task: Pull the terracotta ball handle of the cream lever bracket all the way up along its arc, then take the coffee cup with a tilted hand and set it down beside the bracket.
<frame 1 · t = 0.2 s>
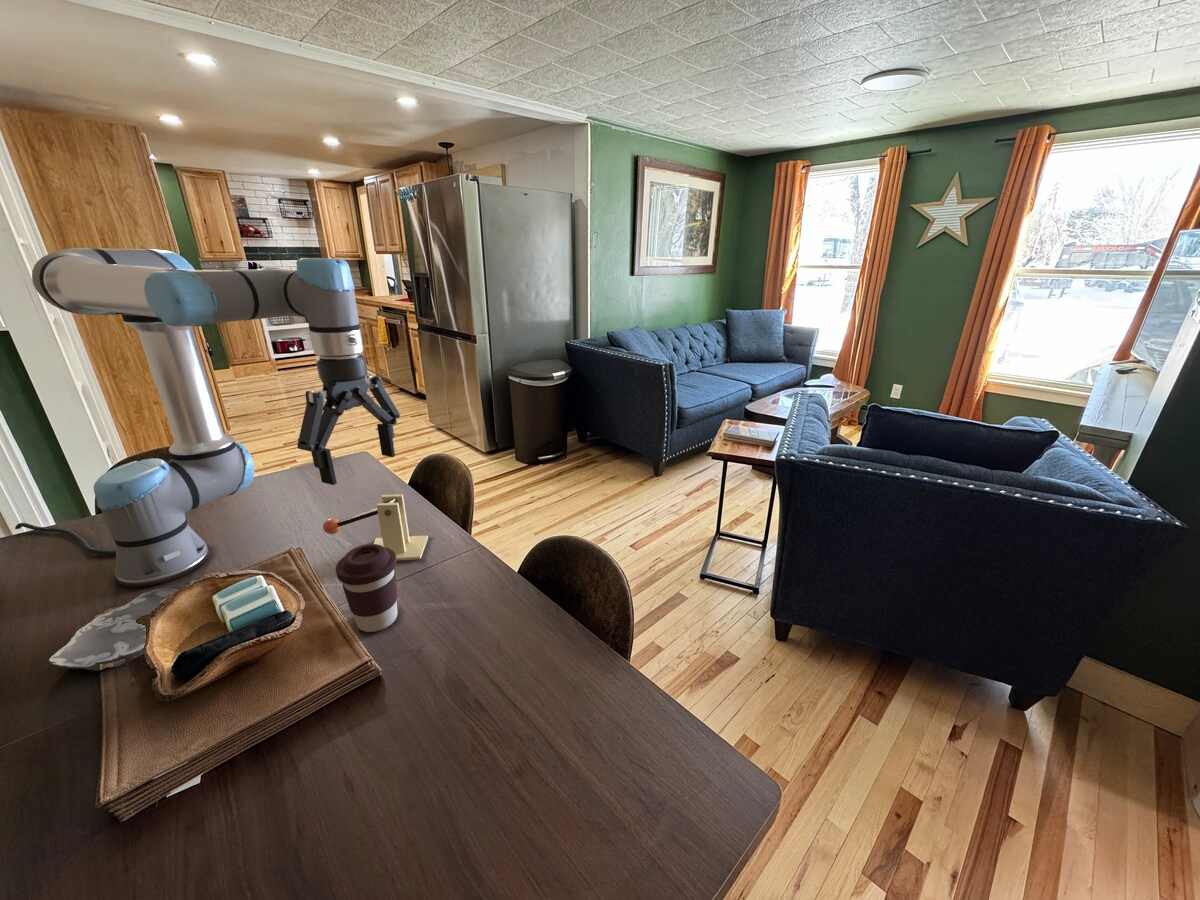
hand: (360, 468, 89), 28 cm above the table, tool pointing down, fingers open, 13 cm apart
coffee cup: (377, 620, 91), on the table
grey stone slab: (143, 636, 85), on the table
lever: (360, 516, 107), point 10 cm above the table, hinge at -18.0°
bracket: (398, 551, 111), on the table
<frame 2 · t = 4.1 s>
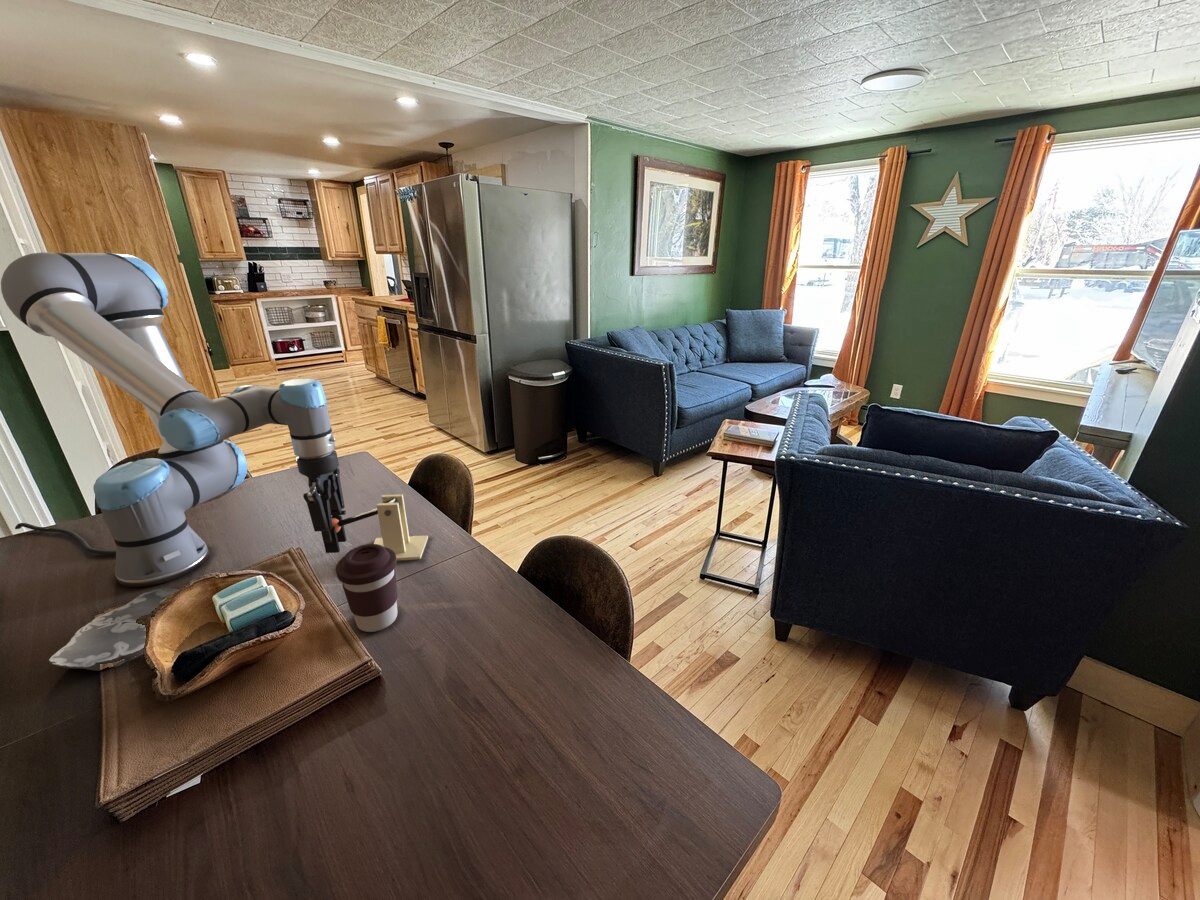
hand: (336, 546, 109), 2 cm above the table, tool pointing down, fingers closed on lever, 4 cm apart
lever: (360, 516, 107), point 10 cm above the table, hinge at -18.1°, touching gripper
everything else where it was.
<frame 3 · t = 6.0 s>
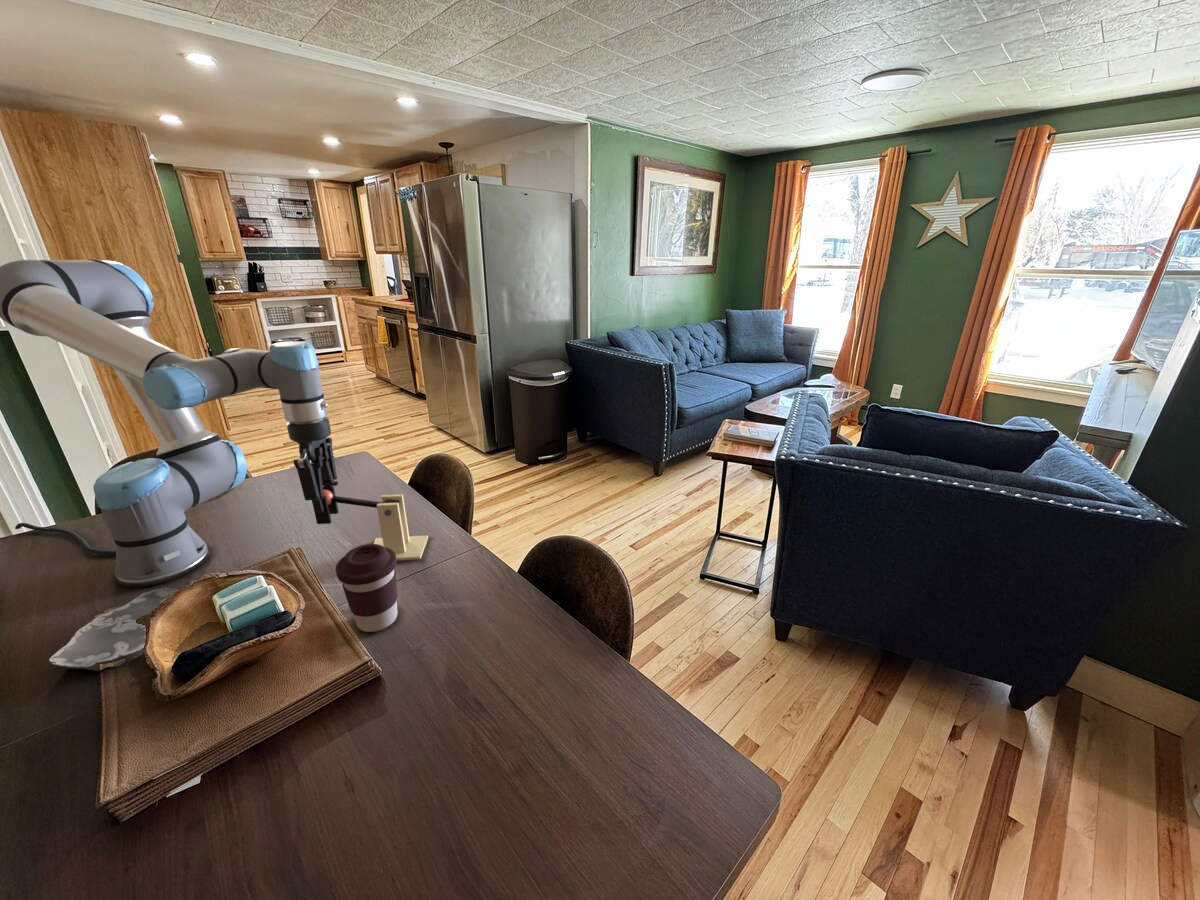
hand: (328, 517, 106), 10 cm above the table, tool pointing down, fingers closed on lever, 4 cm apart
lever: (357, 502, 105), point 14 cm above the table, hinge at 12.3°, touching gripper
everything else where it was.
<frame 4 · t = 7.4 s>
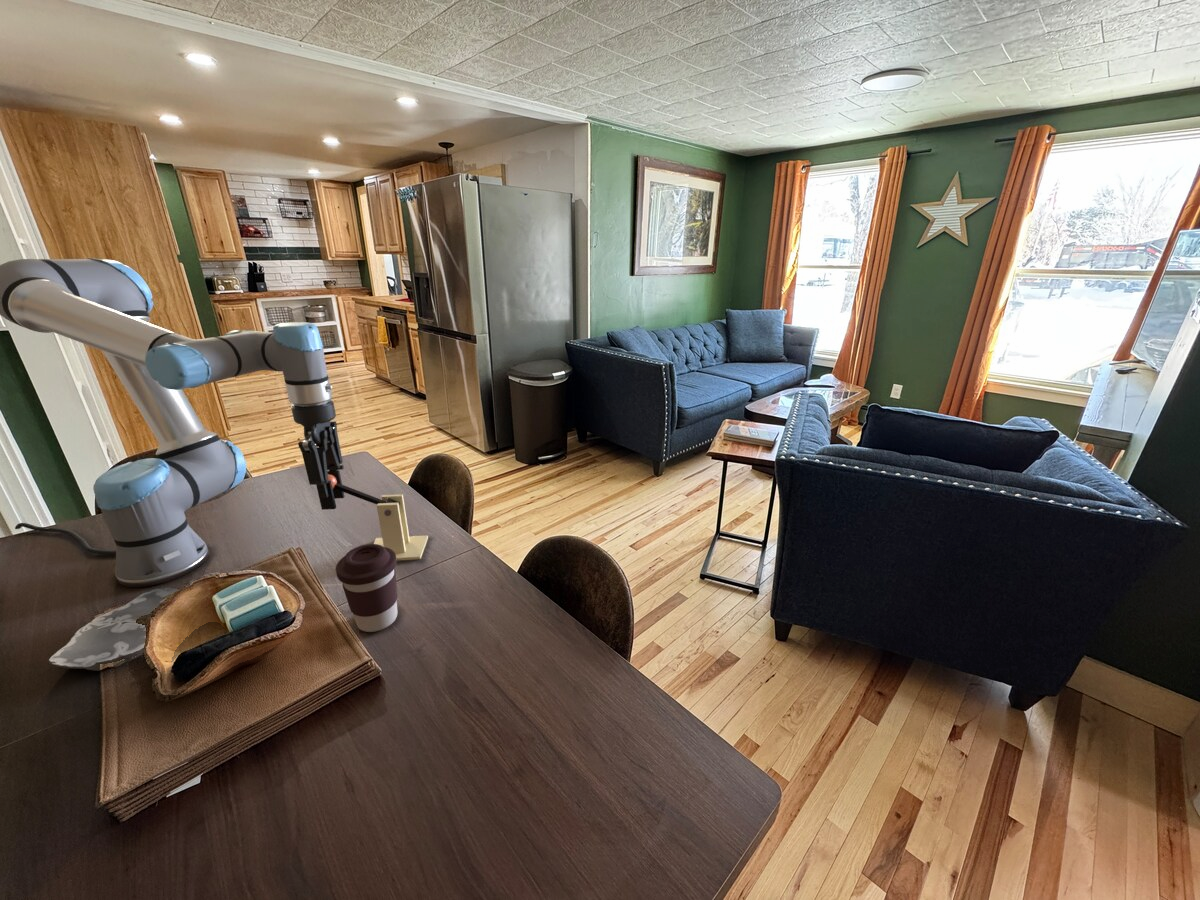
hand: (333, 502, 105), 14 cm above the table, tool pointing down, fingers open, 4 cm apart
lever: (359, 494, 105), point 15 cm above the table, hinge at 28.2°
everything else where it was.
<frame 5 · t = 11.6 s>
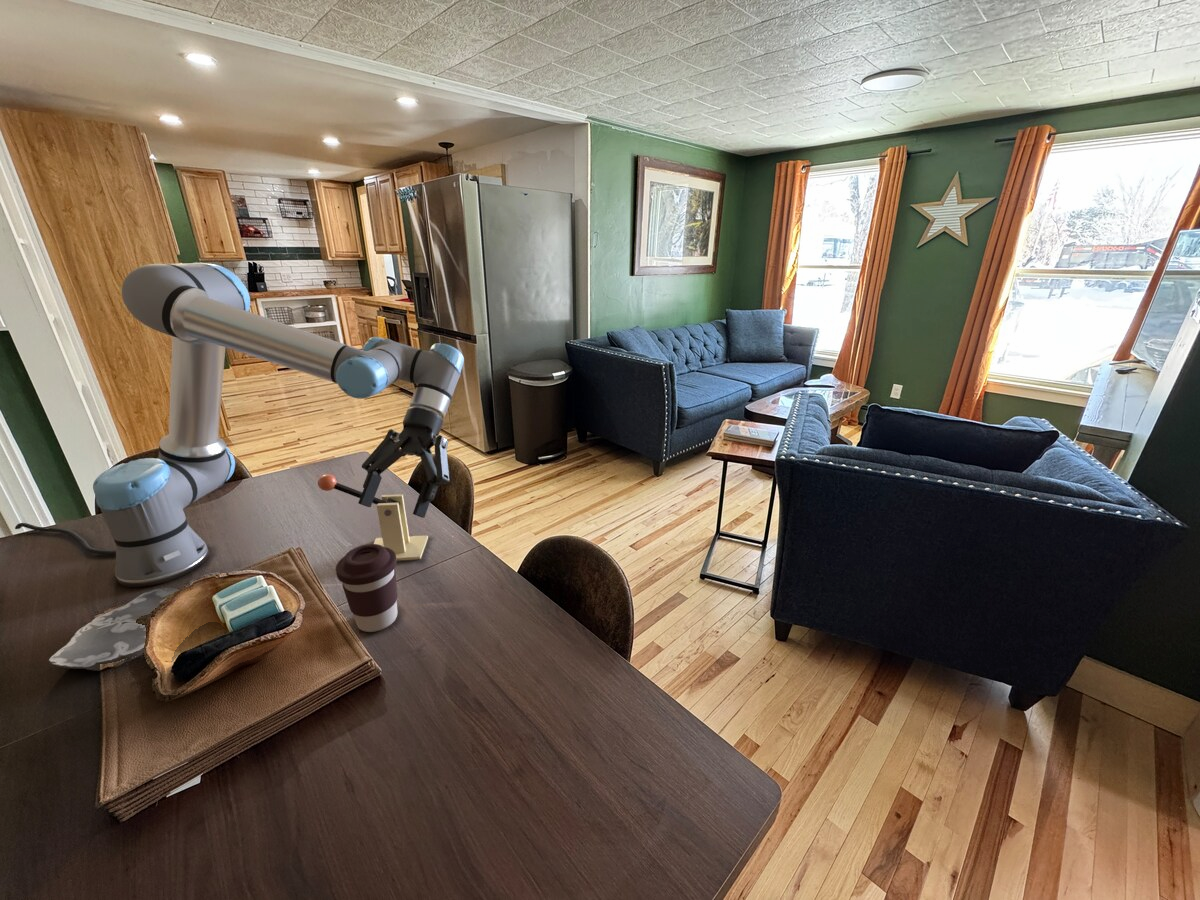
hand: (390, 510, 93), 18 cm above the table, tool tilted 40°, fingers open, 13 cm apart
nothing on the table moved.
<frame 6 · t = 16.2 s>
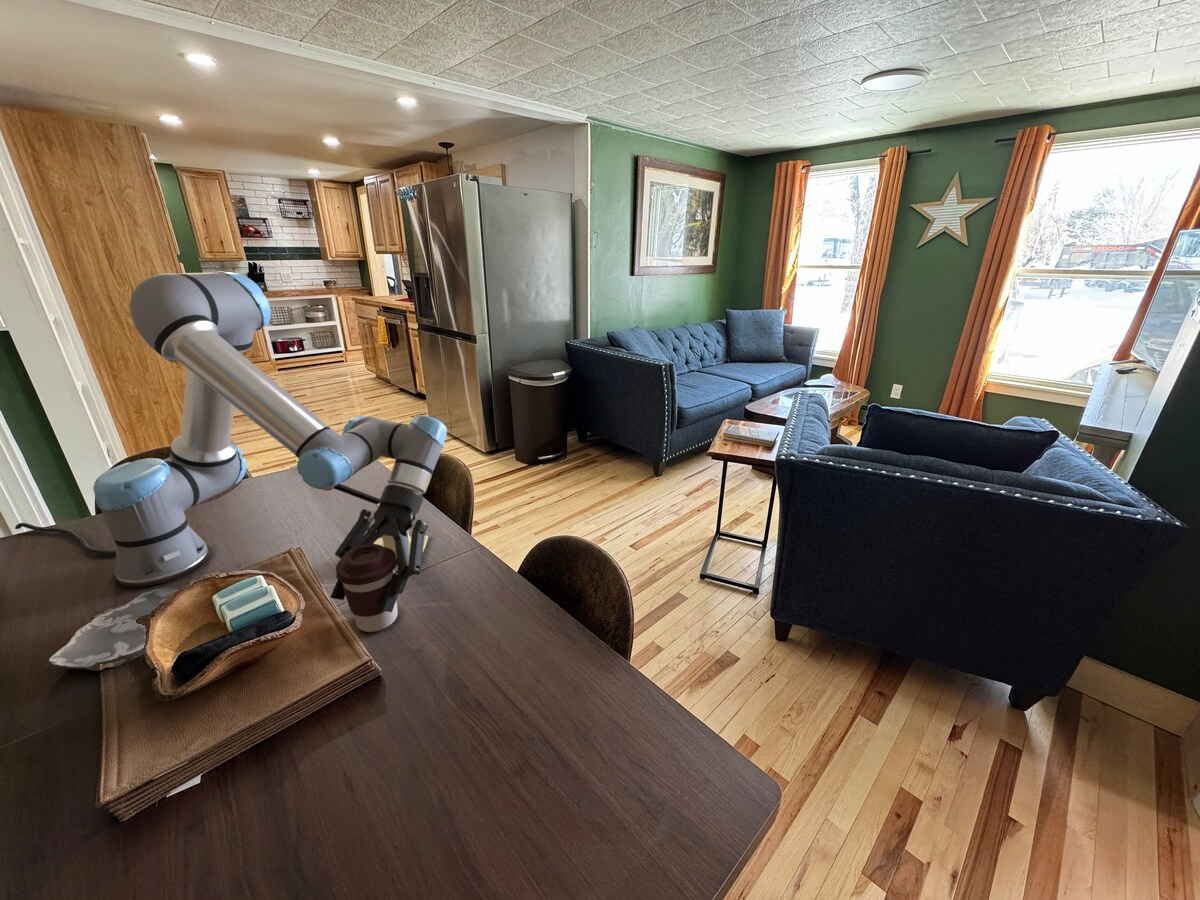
hand: (360, 604, 86), 6 cm above the table, tool tilted 45°, fingers closed on coffee cup, 10 cm apart
coffee cup: (377, 620, 91), on the table, touching gripper
everything else where it was.
when the fingers open (6 cm above the table, at t = 23.0 s): coffee cup stays where it is, on the table.
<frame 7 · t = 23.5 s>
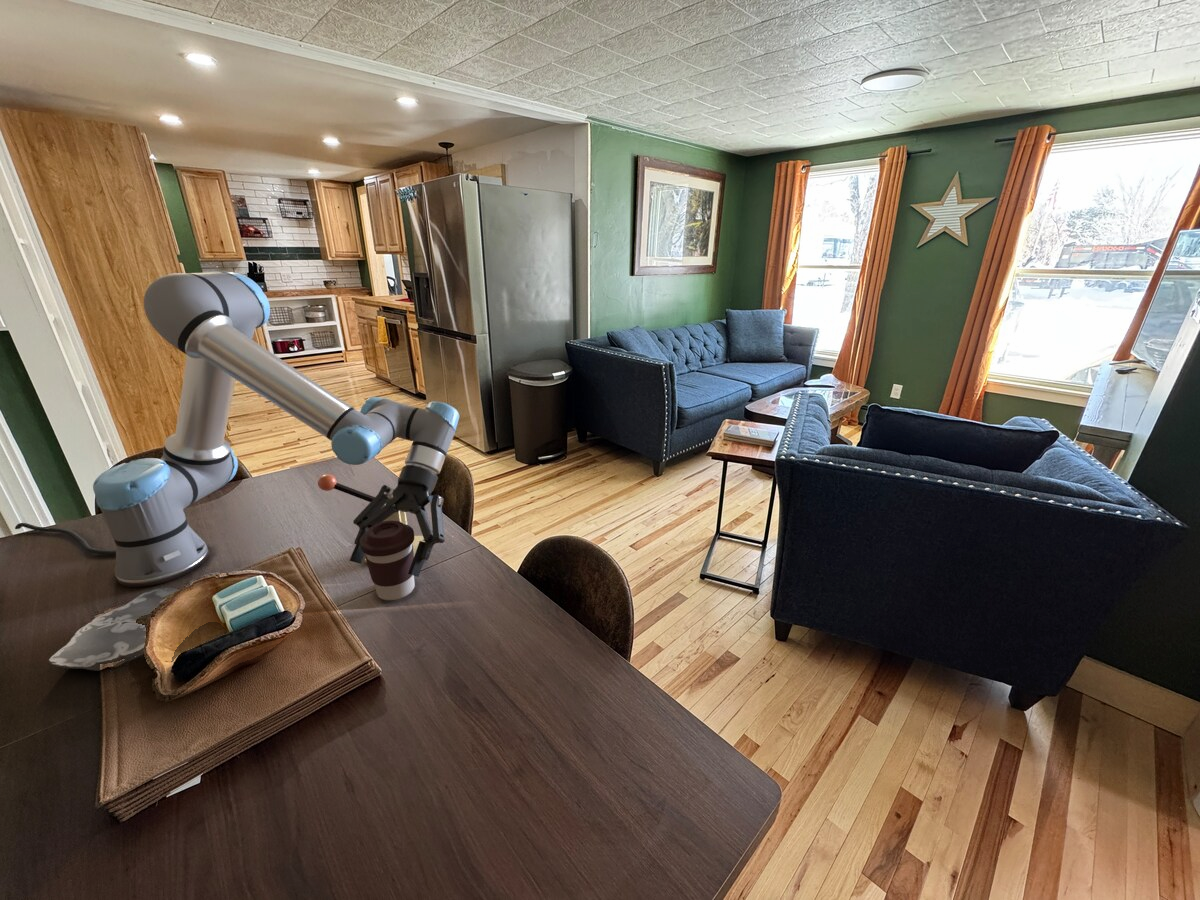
hand: (383, 568, 94), 7 cm above the table, tool tilted 45°, fingers open, 13 cm apart
coffee cup: (396, 591, 99), on the table
everything else where it was.
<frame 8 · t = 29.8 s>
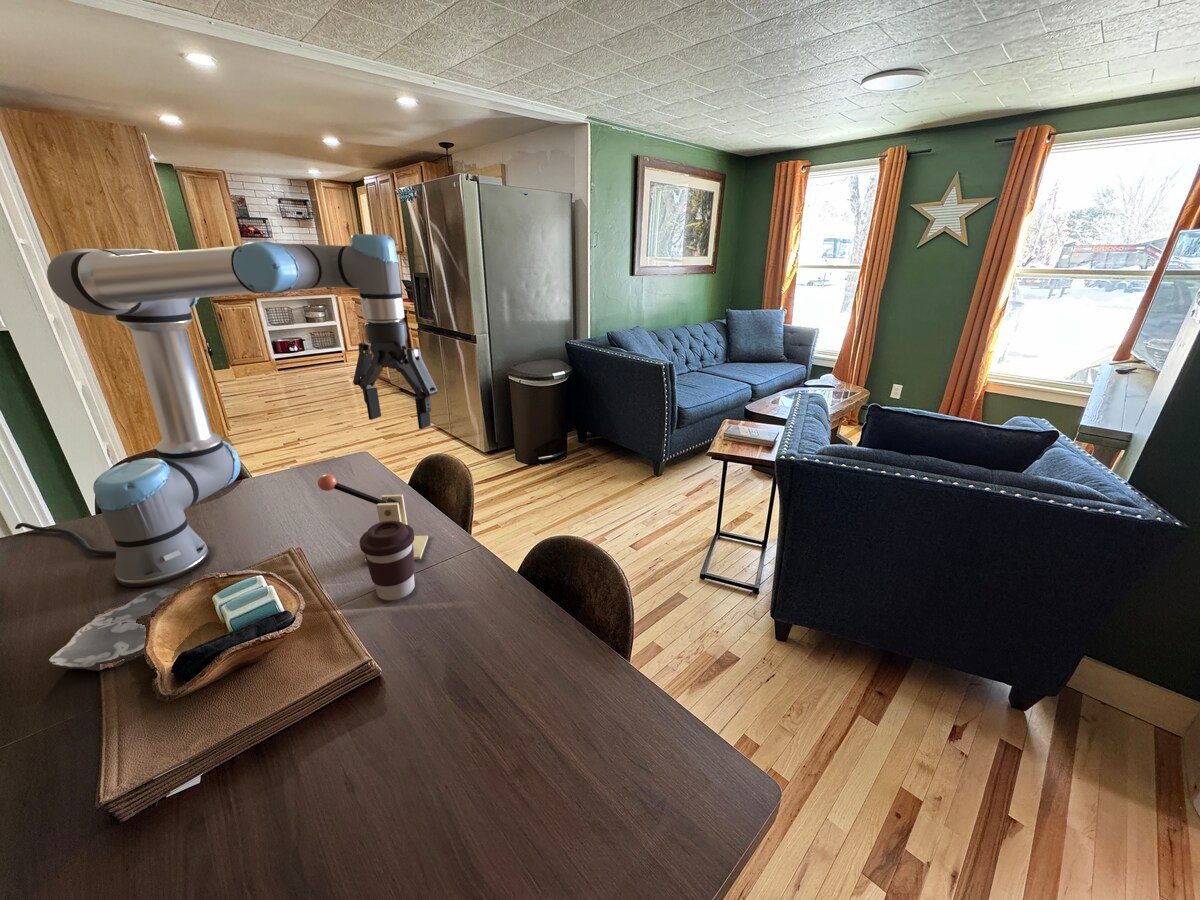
hand: (399, 422, 101), 32 cm above the table, tool pointing down, fingers open, 13 cm apart
nothing on the table moved.
at the end: lever reached +30° during the clip, +28° at the end; lever at +28° (first picture: -18°); coffee cup inside the target area (0.1 cm from its centre), on the table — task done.
